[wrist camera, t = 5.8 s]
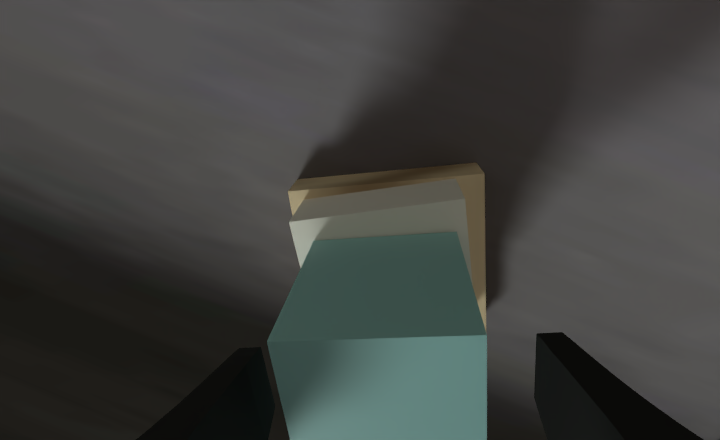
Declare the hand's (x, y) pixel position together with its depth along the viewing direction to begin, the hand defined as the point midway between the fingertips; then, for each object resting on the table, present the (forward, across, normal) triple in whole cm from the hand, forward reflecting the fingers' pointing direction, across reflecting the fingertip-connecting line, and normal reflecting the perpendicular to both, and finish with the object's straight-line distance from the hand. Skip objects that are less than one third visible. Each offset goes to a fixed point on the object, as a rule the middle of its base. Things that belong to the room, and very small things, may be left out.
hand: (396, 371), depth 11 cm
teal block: (+3, 0, 0) cm, 3 cm away
